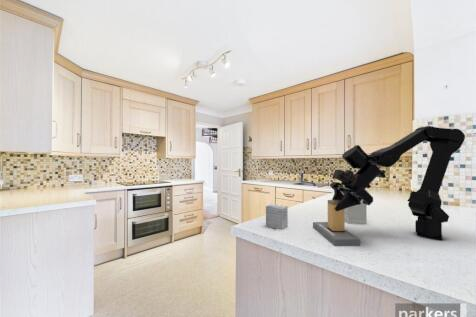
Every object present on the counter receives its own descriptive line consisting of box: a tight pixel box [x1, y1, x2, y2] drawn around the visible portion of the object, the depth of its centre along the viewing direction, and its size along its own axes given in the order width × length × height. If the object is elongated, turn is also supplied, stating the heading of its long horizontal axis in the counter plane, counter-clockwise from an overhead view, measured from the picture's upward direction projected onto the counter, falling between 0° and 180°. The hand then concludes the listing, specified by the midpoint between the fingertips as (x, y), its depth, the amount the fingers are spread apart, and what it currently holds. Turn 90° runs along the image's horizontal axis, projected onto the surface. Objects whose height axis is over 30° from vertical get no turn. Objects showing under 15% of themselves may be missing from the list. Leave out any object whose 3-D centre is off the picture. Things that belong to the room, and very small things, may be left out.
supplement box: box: [344, 199, 368, 225], centre depth 89 cm, size 7×7×13 cm
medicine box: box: [265, 204, 289, 231], centre depth 83 cm, size 8×4×9 cm, turn 47°
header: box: [312, 221, 361, 247], centre depth 73 cm, size 8×18×3 cm, turn 1°
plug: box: [327, 199, 345, 231], centre depth 73 cm, size 4×4×10 cm
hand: (332, 208), depth 73 cm, fingers closed on plug, 4 cm apart
